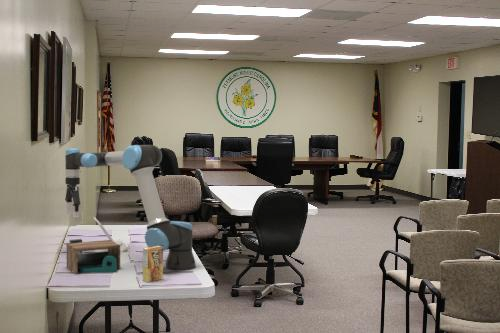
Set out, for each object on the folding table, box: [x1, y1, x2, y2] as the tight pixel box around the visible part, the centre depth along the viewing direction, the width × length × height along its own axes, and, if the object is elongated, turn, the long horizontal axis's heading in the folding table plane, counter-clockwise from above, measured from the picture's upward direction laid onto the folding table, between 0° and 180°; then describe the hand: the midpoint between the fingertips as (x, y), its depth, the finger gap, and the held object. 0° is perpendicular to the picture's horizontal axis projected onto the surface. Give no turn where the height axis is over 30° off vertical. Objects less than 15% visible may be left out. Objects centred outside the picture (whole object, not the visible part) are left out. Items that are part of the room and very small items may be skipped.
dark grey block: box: [68, 238, 109, 268], centre depth 336 cm, size 27×19×9 cm
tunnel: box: [66, 239, 121, 275], centre depth 320 cm, size 16×22×12 cm
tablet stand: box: [93, 216, 129, 253], centre depth 372 cm, size 18×25×17 cm
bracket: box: [78, 254, 118, 274], centre depth 316 cm, size 18×7×8 cm, turn 98°
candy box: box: [142, 246, 164, 283], centre depth 299 cm, size 9×4×15 cm, turn 137°
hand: (72, 215), depth 352 cm, fingers open, 13 cm apart
